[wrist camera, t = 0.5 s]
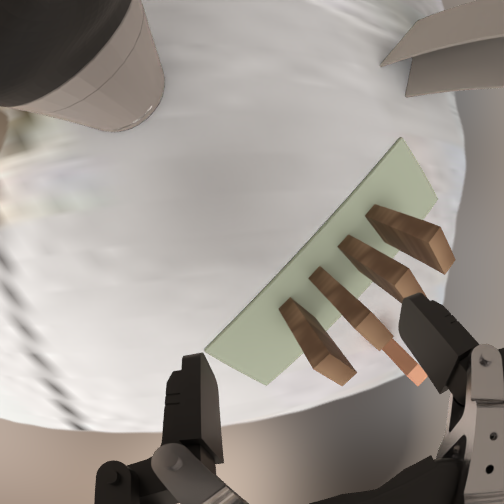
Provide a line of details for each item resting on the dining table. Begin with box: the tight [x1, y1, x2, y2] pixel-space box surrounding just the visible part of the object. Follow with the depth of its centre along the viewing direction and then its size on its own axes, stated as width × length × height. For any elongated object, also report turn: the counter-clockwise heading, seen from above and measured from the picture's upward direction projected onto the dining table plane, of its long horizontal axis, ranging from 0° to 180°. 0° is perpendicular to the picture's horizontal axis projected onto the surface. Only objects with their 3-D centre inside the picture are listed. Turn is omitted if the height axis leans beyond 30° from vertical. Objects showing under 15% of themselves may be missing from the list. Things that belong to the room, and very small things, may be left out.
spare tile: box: [382, 339, 428, 386], centre depth 34 cm, size 2×5×11 cm, turn 47°
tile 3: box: [308, 266, 393, 351], centre depth 28 cm, size 2×5×11 cm, turn 47°
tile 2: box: [279, 297, 357, 386], centre depth 29 cm, size 2×5×11 cm, turn 46°
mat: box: [204, 137, 438, 386], centre depth 33 cm, size 36×11×1 cm, turn 137°
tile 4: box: [337, 234, 426, 303], centre depth 28 cm, size 2×5×11 cm, turn 46°
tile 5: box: [365, 204, 455, 275], centre depth 27 cm, size 2×5×11 cm, turn 46°
